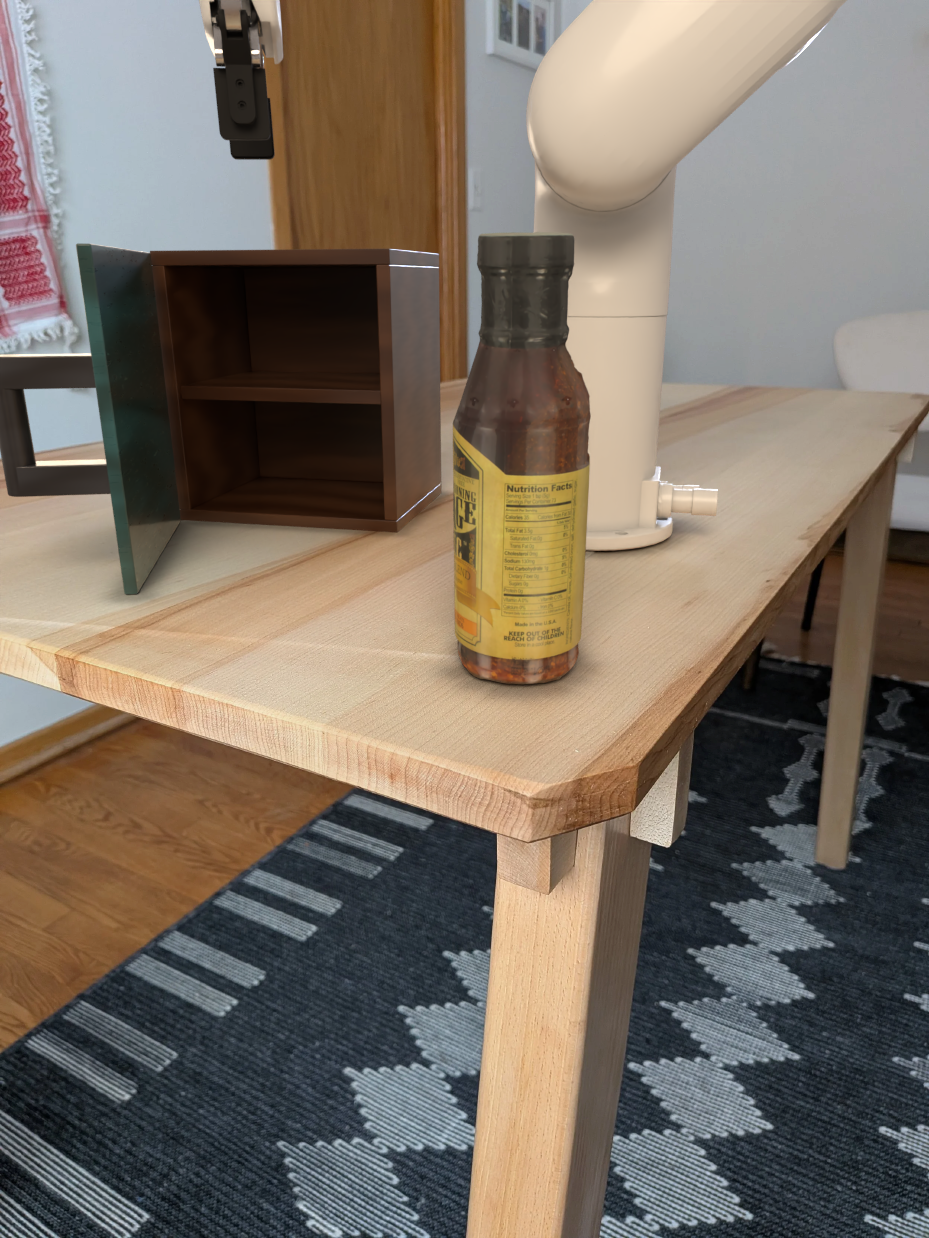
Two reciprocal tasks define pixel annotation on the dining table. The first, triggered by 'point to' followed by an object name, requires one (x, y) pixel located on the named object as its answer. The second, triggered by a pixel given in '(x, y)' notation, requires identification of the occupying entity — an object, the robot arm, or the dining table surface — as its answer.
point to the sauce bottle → (521, 469)
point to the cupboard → (302, 384)
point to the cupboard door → (105, 410)
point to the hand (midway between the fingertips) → (249, 150)
